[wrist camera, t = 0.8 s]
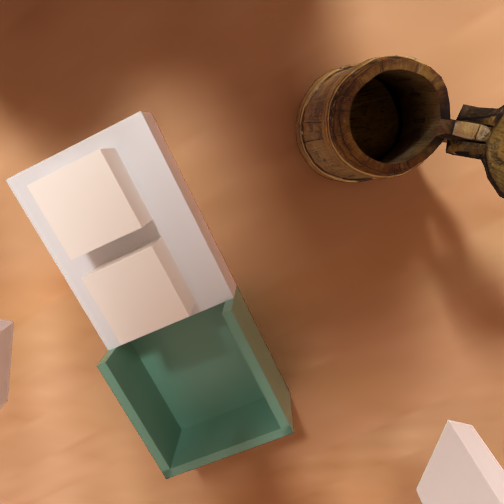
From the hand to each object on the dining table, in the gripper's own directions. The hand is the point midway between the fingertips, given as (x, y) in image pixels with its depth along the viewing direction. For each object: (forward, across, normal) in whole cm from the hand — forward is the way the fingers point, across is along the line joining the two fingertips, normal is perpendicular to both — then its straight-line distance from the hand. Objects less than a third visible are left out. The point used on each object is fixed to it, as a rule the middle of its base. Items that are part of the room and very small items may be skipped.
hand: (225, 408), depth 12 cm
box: (+24, -1, -14) cm, 27 cm away
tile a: (+21, -12, 0) cm, 24 cm away
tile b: (+21, -7, -6) cm, 23 cm away
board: (+24, -10, -3) cm, 26 cm away
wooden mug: (+24, +8, +10) cm, 28 cm away
